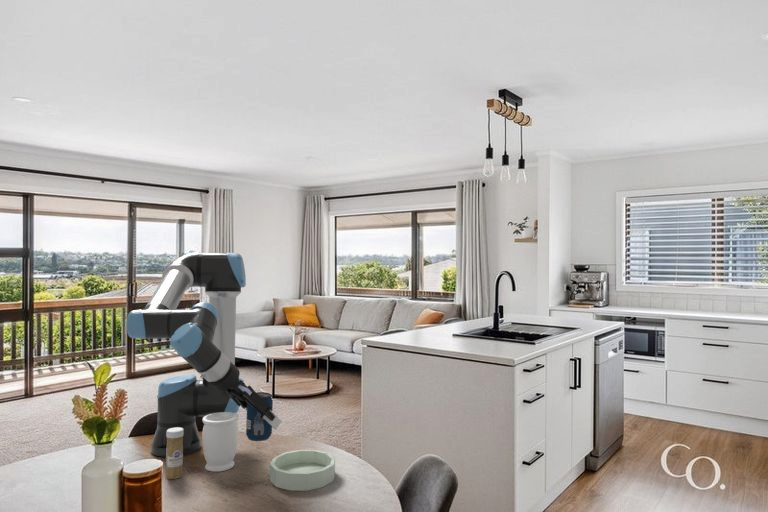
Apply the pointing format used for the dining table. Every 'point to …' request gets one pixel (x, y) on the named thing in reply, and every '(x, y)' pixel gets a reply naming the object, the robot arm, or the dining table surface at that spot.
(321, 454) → the bowl
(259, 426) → the soda can
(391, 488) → the dining table surface
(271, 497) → the dining table surface
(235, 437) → the jar
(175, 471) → the sprinkles bottle
